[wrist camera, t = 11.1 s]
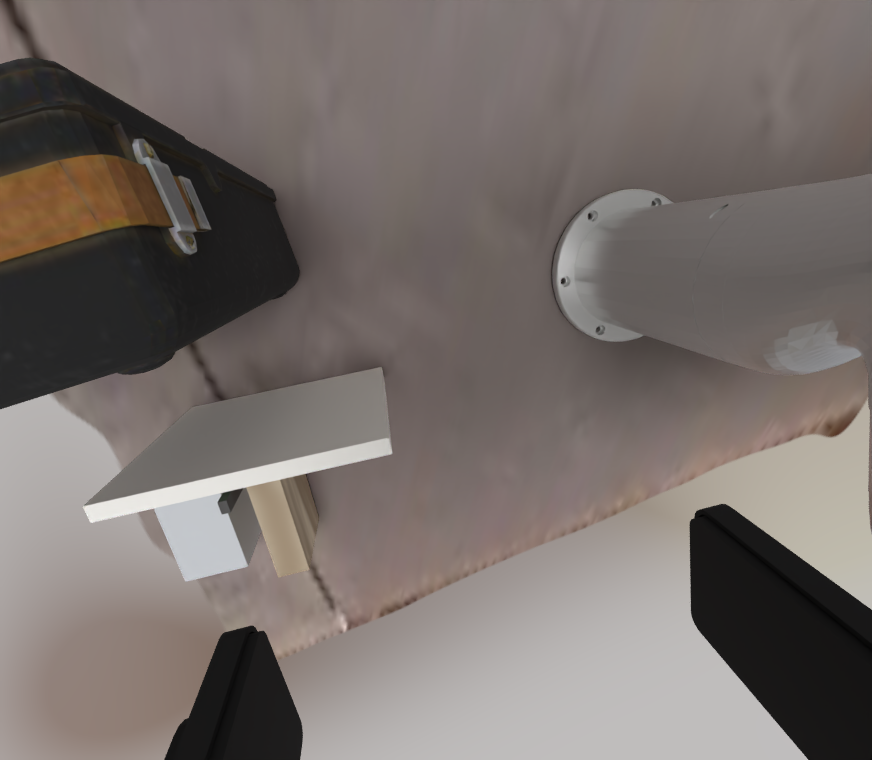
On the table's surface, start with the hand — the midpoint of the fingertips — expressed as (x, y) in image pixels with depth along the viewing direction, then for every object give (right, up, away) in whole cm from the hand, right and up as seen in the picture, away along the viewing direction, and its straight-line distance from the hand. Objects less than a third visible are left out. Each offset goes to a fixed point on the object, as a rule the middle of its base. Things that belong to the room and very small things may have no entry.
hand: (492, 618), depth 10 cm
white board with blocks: (-14, -2, +30) cm, 33 cm away
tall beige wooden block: (-14, -3, +31) cm, 34 cm away
